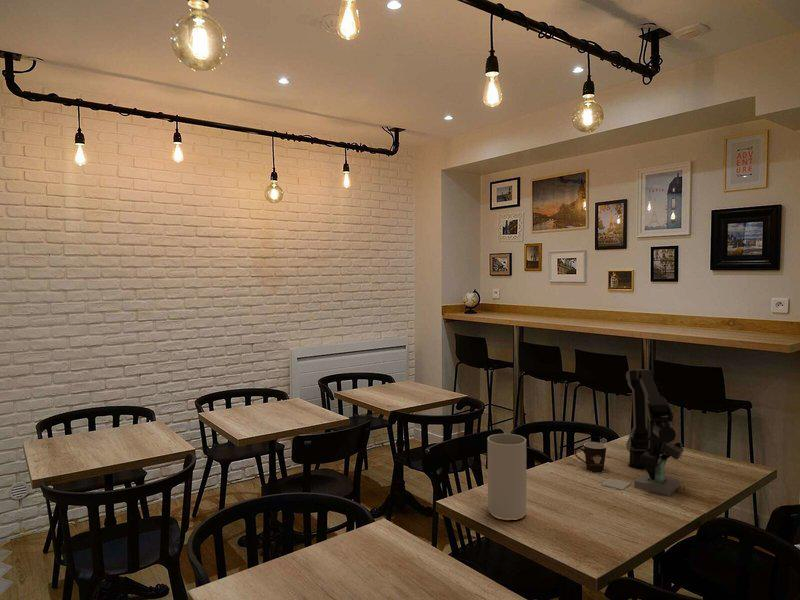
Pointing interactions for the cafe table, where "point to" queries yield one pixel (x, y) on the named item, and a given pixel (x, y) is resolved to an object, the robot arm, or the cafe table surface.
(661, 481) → the peg
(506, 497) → the cylinder vase
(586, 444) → the coffee mug
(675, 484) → the pocket plate
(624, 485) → the mat
